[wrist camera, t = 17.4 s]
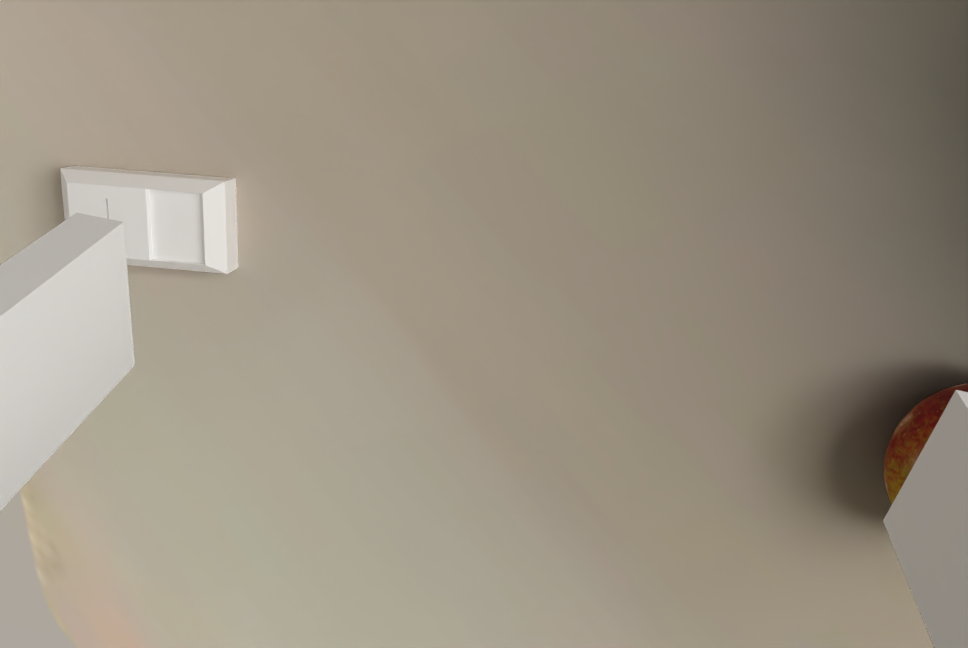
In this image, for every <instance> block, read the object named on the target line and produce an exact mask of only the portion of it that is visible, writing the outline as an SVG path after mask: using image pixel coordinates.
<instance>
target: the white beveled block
mask: <svg viewBox="0 0 968 648" xmlns="http://www.w3.org/2000/svg"><path fill="white" fill-rule="evenodd" d="M60 173H61V185H62V196H63V208H64V219H65V220H67V219H68V218H69V217H71V216H72V215H74V214H75V213H82V214H87V215H92V216H97V217H102V218H107V219H112V220H117V221H122V222H124V235H125V247H126V260H127V265H133V266H144V267H156V268H167V269H178V270H189V271H201V272H212V273H223V274H228V273H230V272H232V271H234V270H235V269H237V268H238V244H237V207H236V178H227V177H214V176H202V175H189V174H176V173H163V172H151V171H138V170H125V169H112V168H99V167H87V166H71V167H65V168H60Z"/></svg>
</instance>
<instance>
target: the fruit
mask: <svg viewBox="0 0 968 648" xmlns="http://www.w3.org/2000/svg"><path fill="white" fill-rule="evenodd" d="M955 390H959V391H964V392H968V383H966V384H961V385H957V386H953V387H950V388H946V389H943V390H941V391H939V392H937V393H935V394H932V395H930V396H929V397H927V398H926V399H924V400H922V401H921V402H919V403H918V404H917V405H916V406H915V407H914V408H913V409H912V410H911V411H910V412H909V413H908V414H907V415H906V416H905V417H904V418H903V419H902V420H901V421H900V422H899V424H898V426H897V427H896V429H895V431H894V433H893V435H892V437H891V439H890V442H889V445H888V447H887V450H886V452H885V461H884V479H885V486H886V491H887V494H888V497H889V500H890V502H891V504H893V502H894V500H895V498H896V496H897V495H898V493H899V491H900V489H901V488H902V486H903V484H904V482H905V480H906V479H907V477H908V475H909V473H910V471H911V470H912V468H913V466H914V464H915V462H916V461H917V459H918V457H919V455H920V453H921V452H922V450H923V448H924V446H925V444H926V443H927V441H928V439H929V437H930V435H931V434H932V432H933V430H934V428H935V426H936V425H937V423H938V421H939V419H940V417H941V416H942V414H943V412H944V410H945V408H946V407H947V405H948V403H949V401H950V399H951V398H952V396H953V394H954V392H955Z"/></svg>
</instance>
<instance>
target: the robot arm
mask: <svg viewBox="0 0 968 648" xmlns="http://www.w3.org/2000/svg"><path fill="white" fill-rule="evenodd" d="M134 365H135V360H134V347H133V335H132V322H131V310H130V297H129V285H128V272H127V260H126V247H125V235H124V222H122V221H117V220H112V219H107V218H102V217H97V216H92V215H87V214H82V213H75V214H74V215H72V216H71V217H69V218H68V219H67V220H65V221H64V222H62V223H61V224H59V225H58V226H56V227H55V228H53V229H52V230H50V231H49V232H47V233H46V234H45V235H43V236H42V237H40V238H39V239H37V240H36V241H34V242H33V243H31V244H30V245H28V246H27V247H26V248H24V249H23V250H21V251H20V252H18V253H17V254H15V255H14V256H12V257H11V258H9V259H8V260H6V261H5V262H4V263H2V264H1V265H0V511H1V510H2V509H3V508H4V507H5V505H6V504H7V503H8V502H9V501H10V500H11V499H12V498H13V497H14V496H15V495H16V493H18V491H19V490H20V489H21V488H22V487H23V486H24V485H25V484H26V483H27V482H28V481H29V480H30V478H31V477H32V476H33V475H34V474H35V473H36V472H37V471H38V470H39V469H40V468H41V466H42V465H43V464H44V463H45V462H46V461H47V460H48V459H49V458H50V457H51V456H52V455H53V453H54V452H55V451H56V450H57V449H58V448H59V447H60V446H61V445H62V444H63V443H64V442H65V440H66V439H67V438H68V437H69V436H70V435H71V434H72V433H73V432H74V431H75V430H76V428H77V427H78V426H79V425H80V424H81V423H82V422H83V421H84V420H85V419H86V418H87V417H88V415H89V414H90V413H91V412H92V411H93V410H94V409H95V408H96V407H97V406H98V405H99V403H100V402H101V401H102V400H103V399H104V398H105V397H106V396H107V395H108V394H109V393H110V392H111V390H112V389H113V388H114V387H115V386H116V385H117V384H118V383H119V382H120V381H121V380H122V379H123V377H124V376H125V375H126V374H127V373H128V372H129V371H130V370H131V369H132V368H133V367H134ZM883 522H884V525H885V527H886V530H887V532H888V535H889V537H890V540H891V542H892V545H893V547H894V550H895V552H896V555H897V557H898V560H899V562H900V564H901V567H902V569H903V572H904V574H905V577H906V579H907V582H908V584H909V587H910V589H911V592H912V594H913V597H914V599H915V602H916V604H917V607H918V609H919V612H920V614H921V617H922V619H923V622H924V624H925V627H926V629H927V632H928V634H929V637H930V639H931V642H932V644H933V646H934V648H968V392H964V391H959V390H955V392H954V394H953V396H952V398H951V399H950V401H949V403H948V405H947V407H946V408H945V410H944V412H943V414H942V416H941V417H940V419H939V421H938V423H937V425H936V426H935V428H934V430H933V432H932V434H931V435H930V437H929V439H928V441H927V443H926V444H925V446H924V448H923V450H922V452H921V453H920V455H919V457H918V459H917V461H916V462H915V464H914V466H913V468H912V470H911V471H910V473H909V475H908V477H907V479H906V480H905V482H904V484H903V486H902V488H901V489H900V491H899V493H898V495H897V496H896V498H895V500H894V502H893V504H892V505H891V507H890V509H889V511H888V513H887V514H886V516H885V518H884V520H883Z"/></svg>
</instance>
